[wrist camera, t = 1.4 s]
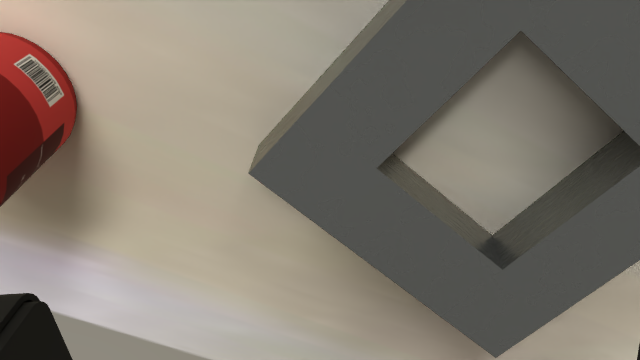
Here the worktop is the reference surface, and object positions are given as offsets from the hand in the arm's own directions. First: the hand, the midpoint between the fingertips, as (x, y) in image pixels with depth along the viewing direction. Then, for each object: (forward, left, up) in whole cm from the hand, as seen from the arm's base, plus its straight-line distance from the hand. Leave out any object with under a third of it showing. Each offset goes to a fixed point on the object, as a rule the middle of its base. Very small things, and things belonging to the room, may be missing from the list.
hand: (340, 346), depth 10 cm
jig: (+1, +11, -25) cm, 28 cm away
